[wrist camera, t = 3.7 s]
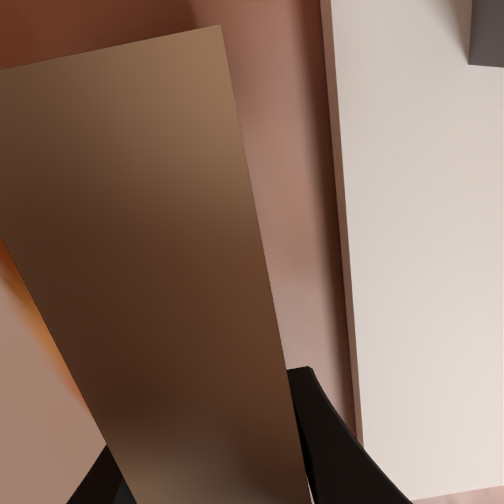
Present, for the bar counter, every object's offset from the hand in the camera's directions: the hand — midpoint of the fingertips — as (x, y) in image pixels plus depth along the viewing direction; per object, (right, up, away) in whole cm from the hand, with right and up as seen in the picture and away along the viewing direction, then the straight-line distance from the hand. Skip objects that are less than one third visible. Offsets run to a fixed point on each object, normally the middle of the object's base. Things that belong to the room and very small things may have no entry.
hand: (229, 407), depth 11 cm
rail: (0, +1, +1) cm, 2 cm away
